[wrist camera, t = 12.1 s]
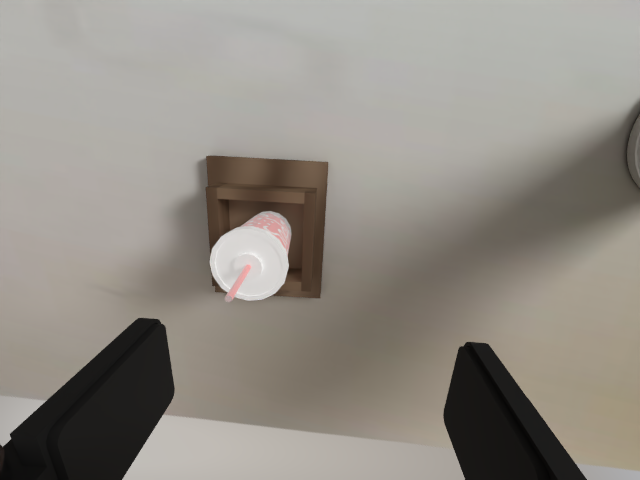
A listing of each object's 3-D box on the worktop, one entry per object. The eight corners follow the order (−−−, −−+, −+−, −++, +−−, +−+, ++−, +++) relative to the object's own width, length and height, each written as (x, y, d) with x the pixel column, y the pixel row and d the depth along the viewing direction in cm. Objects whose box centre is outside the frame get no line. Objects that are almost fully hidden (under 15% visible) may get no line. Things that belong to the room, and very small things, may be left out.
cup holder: (328, 162, 30) (328, 165, 26) (320, 293, 35) (319, 313, 31) (210, 155, 31) (192, 158, 26) (219, 287, 35) (204, 306, 31)
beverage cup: (306, 250, 32) (291, 327, 19) (253, 265, 33) (203, 349, 20) (287, 196, 30) (256, 240, 17) (232, 213, 31) (161, 268, 18)
